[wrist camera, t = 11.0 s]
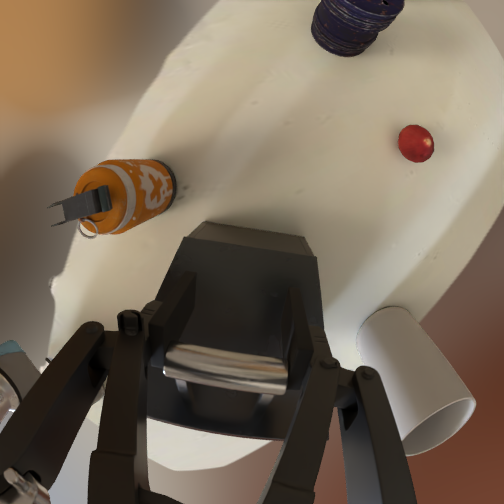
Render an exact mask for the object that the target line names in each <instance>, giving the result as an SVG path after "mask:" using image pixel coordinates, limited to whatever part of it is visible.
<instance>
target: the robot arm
mask: <svg viewBox="0 0 504 504" xmlns="http://www.w3.org/2000/svg"><path fill="white" fill-rule="evenodd" d="M196 277H197V272H192V271H185V272H184V274H183V275H182V276H181V278H180V279H179V280H178V282H177V283H176V285H175V286H174V287H173V289H172V290H171V291H170V293H169V294H168V296H167V297H166V298H165V300H164V301H163V302H159V301H155V300H153V301H151V302H149V303H147V304H146V306H145V307H144V308H143V309H142V311H141V312H139V311H137V310H124V311H121V312H120V313H119V314H118V315H117V320H118V328H119V331H104V326H103V325H102V324H101V323H99V322H95V321H90V322H86V323H84V324H83V325H81V326H80V328H79V329H78V330H77V331H76V332H75V333H74V335H73V336H72V337H71V338H70V339H69V341H68V342H67V343H66V344H65V345H64V347H63V348H62V349H61V350H60V351H59V353H58V354H57V355H56V356H55V358H54V359H53V360H52V361H50V360H49V359H48V358H46V359H45V360H46V361H47V362H48V363H49V365H48V366H47V368H46V369H45V370H44V372H43V373H42V374H41V373H40V372H39V371H38V370H37V369H36V367H35V366H34V364H33V363H32V362H31V360H30V359H29V358H28V357H27V355H26V353H25V352H24V351H23V350H22V349H21V347H20V346H19V345H18V343H17V342H16V341H14V340H9V341H7V342H5V343H3V344H1V345H0V423H1V422H2V420H3V419H4V417H5V416H6V414H7V413H8V411H15V412H14V413H13V415H12V416H11V418H10V419H9V421H8V422H7V424H6V426H5V427H4V428H3V430H2V432H1V433H0V504H51V502H50V497H49V493H48V490H49V489H50V488H51V486H52V485H53V483H54V482H55V480H56V478H57V476H58V474H59V472H60V470H61V468H62V466H63V463H64V461H65V459H66V457H67V454H68V452H69V450H70V448H71V446H72V444H73V442H74V440H75V437H76V435H77V433H78V431H79V429H80V427H81V425H82V423H83V421H84V419H85V417H86V415H87V413H88V411H89V409H90V408H91V406H92V405H93V404H94V403H96V402H97V401H99V400H100V399H101V398H102V396H103V395H104V400H103V406H102V412H101V419H100V426H99V434H98V442H97V449H96V450H94V451H92V453H91V457H90V465H89V478H88V504H183V503H181V502H179V501H176V500H174V499H172V498H170V497H168V496H165V495H162V494H158V493H155V492H151V491H150V486H149V480H148V465H147V384H148V362H149V360H150V359H151V366H154V367H158V368H161V369H163V364H164V357H165V352H166V349H167V346H168V344H169V342H170V341H171V340H176V341H179V339H180V337H181V335H182V333H183V331H184V328H185V326H186V324H187V322H188V320H189V318H190V316H191V314H192V312H193V310H194V307H195V291H196ZM281 336H282V351H283V358H287V359H288V360H289V380H288V385H287V389H286V390H296V391H300V388H301V385H303V391H302V394H301V396H300V398H299V401H298V403H297V408H296V411H295V413H294V416H293V419H292V422H291V424H290V427H289V430H288V432H287V435H286V438H285V440H284V443H283V445H282V448H281V450H280V453H279V455H278V458H277V460H276V462H275V465H274V467H273V469H272V472H271V474H270V476H269V478H268V481H267V483H266V485H265V488H264V489H263V491H262V494H261V496H260V498H259V500H258V502H257V504H313V503H314V499H315V492H314V485H315V482H316V479H317V475H318V472H319V468H320V464H321V460H322V457H323V453H324V449H325V445H326V441H327V436H328V432H329V427H330V422H331V418H332V412H333V408H334V407H337V408H338V416H339V423H340V430H341V439H342V447H343V456H344V466H345V477H346V488H347V502H348V504H417V500H416V496H415V491H414V487H413V482H412V478H411V474H410V470H409V466H408V463H407V459H406V455H405V451H404V448H403V444H402V441H401V437H400V434H399V431H398V427H397V424H396V421H395V418H394V415H393V412H392V409H391V406H390V403H389V400H388V397H387V394H386V391H385V388H384V385H383V382H382V380H381V377H380V374H379V373H378V371H377V370H375V369H374V368H372V367H370V366H360V367H358V368H357V369H356V371H351V370H347V369H344V368H342V367H340V363H339V361H338V360H337V359H335V358H334V357H332V354H331V351H330V347H329V344H328V341H327V339H326V338H327V337H326V334H325V332H324V330H323V329H322V328H321V327H319V326H310V325H308V321H307V317H306V312H305V308H304V304H303V300H302V296H301V292H300V288H293V287H288V291H287V296H286V300H285V305H284V309H283V313H282V318H281ZM107 376H108V378H107ZM106 378H107V383H106V389H105V394H104V386H103V383H104V381H105V380H106Z"/></svg>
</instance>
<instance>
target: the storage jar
mask: <svg viewBox="0 0 504 504" xmlns="http://www.w3.org/2000/svg"><path fill="white" fill-rule="evenodd" d="M403 8H404V0H321V2H320V3H319V5H318V6H317V7H316V10H315V13H314V16H313V22H312V25H311V32H312V35H313V37H314V39H315V40H316V42H317V43H318V44H319V45H320V46H321V47H322V48H323V49H325V50H326V51H328V52H330V53H332V54H335V55H338V56H343V57H352V56H356V55H359V54H361V53H362V52H363V51H364V50H365V49H366V48H368V47H369V46H370V45H371V44H372V43H373V42H374V41H375V40H376V38H377V36H378V33H379V32H380V31H382V30H384V29H386V28H387V27H388V26H389V25H390V24H391V23H392V22H393V21H394V19H395V18H396V16H397V15H398V14H399V13H400V12H401V11H402V10H403Z"/></svg>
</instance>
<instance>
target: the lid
mask: <svg viewBox="0 0 504 504" xmlns="http://www.w3.org/2000/svg"><path fill="white" fill-rule="evenodd" d="M185 271H192V272H197V277H196V291H195V307H194V310H193V312H192V314H191V316H190V318H189V320H188V322H187V324H186V326H185V328H184V331H183V333H182V335H181V337H180V339H179V341H176V340H171V341H170V342H169V344H168V346H167V349H166V352H165V357H164V364H163V369H161V368H158V367H154V366H151V359H150V360H149V362H148V384H147V418H150V419H153V420H157V421H160V422H164V423H168V424H172V425H176V426H180V427H185V428H189V429H194V430H199V431H204V432H209V433H215V434H221V435H227V436H234V437H242V438H250V439H260V440H273V441H284V440H285V438H286V435H287V432H288V430H289V427H290V424H291V422H292V419H293V416H294V413H295V411H296V408H297V403H298V401H299V398H300V396H301V394H302V391H303V385H301V388H300V391H296V390H286V389H287V385H288V380H289V360H288V359H287V358H283V351H282V336H281V318H282V313H283V309H284V305H285V300H286V296H287V291H288V287H293V288H300V292H301V296H302V300H303V304H304V308H305V312H306V317H307V321H308V325H310V326H319V327H321V328H322V329H323V330H324V321H323V310H322V300H321V290H320V281H319V273H318V264H317V257H316V256H309V255H303V254H296V253H290V252H283V251H277V250H270V249H264V248H257V247H251V246H244V245H238V244H231V243H224V242H218V241H211V240H204V239H198V238H191V237H184V238H183V240H182V242H181V244H180V246H179V248H178V250H177V252H176V254H175V257H174V259H173V261H172V263H171V265H170V267H169V269H168V272H167V274H166V276H165V278H164V280H163V282H162V285H161V287H160V289H159V291H158V294H157V296H156V298H155V301H159V302H163V301H164V300H165V298H166V297H167V296H168V294H169V293H170V291H171V290H172V289H173V287H174V286H175V285H176V283H177V282H178V280H179V279H180V278H181V276H182V275H183V274H184V272H185ZM327 440H329V432H328V436H327Z"/></svg>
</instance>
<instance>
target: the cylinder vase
mask: <svg viewBox="0 0 504 504" xmlns="http://www.w3.org/2000/svg"><path fill="white" fill-rule="evenodd" d="M356 346H357V350H358V352H359V354H360V357H361V359H362V362H363V364H364V366H370V367H372V368H374V369H375V370H377V371H378V373H379V374H380V377H381V380H382V382H383V385H384V388H385V391H386V394H387V397H388V400H389V403H390V406H391V409H392V412H393V415H394V418H395V421H396V424H397V427H398V431H399V434H400V437H401V441H402V444H403V448H404V451H405V455H406V456H412V455H416V454H419V453H423V452H425V451H427V450H430V449H432V448H434V447H436V446H438V445H439V444H441V443H442V442H444V441H446V440H447V439H448V438H450V437H451V436H452V435H454V434H455V433H456V432H457V431H458V430H459V429H460V428H461V427H462V426H463V425H464V424H465V423H466V422H467V420H468V419H469V418H470V417H471V415H472V414H473V412H474V409H475V407H476V401H475V399H474V397H473V396H472V394H471V393H470V392H469V390H468V389H467V387H466V386H465V384H464V383H463V382H462V380H461V379H460V377H459V376H458V374H457V373H456V372H455V370H454V369H453V367H452V366H451V365H450V363H449V362H448V361H447V359H446V358H445V357H444V355H443V354H442V353H441V351H440V350H439V349H438V347H437V346H436V345H435V344H434V342H433V341H432V340H431V338H430V337H429V336H428V335H427V334H426V332H425V331H424V330H423V328H422V327H421V326H420V325H419V324H418V322H417V321H416V320H415V319H414V317H413V316H412V315H411V314H410V313H409V312H408V311H407V310H405V309H403V308H400V307H388V308H384V309H382V310H379V311H377V312H376V313H374V314H373V315H371V316H370V317H369V318H368V319H367V320H366V321H365V322H364V323H363V325H362V326H361V328H360V330H359V332H358V335H357V339H356Z"/></svg>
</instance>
